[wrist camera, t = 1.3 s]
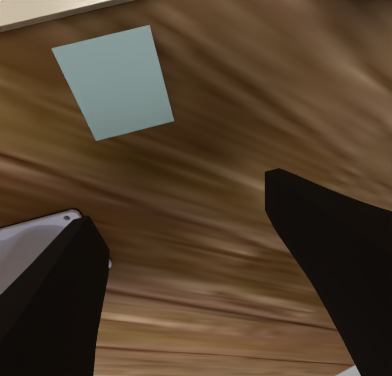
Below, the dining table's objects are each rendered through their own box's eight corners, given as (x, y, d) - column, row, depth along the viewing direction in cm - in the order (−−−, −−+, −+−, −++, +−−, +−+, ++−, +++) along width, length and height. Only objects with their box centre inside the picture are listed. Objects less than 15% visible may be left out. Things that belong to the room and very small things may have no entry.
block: (112, 109, 16) (96, 141, 11) (85, 45, 14) (51, 48, 9) (166, 96, 16) (174, 120, 11) (148, 29, 14) (149, 24, 9)
